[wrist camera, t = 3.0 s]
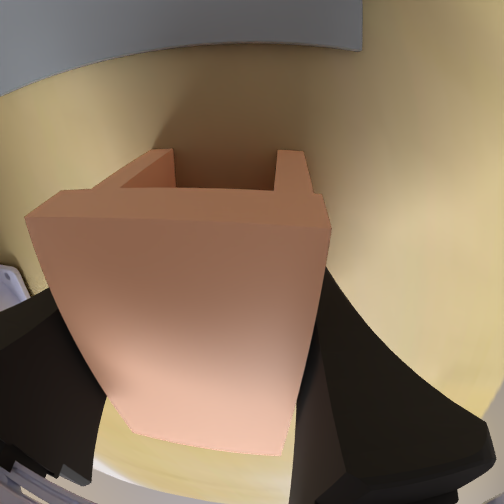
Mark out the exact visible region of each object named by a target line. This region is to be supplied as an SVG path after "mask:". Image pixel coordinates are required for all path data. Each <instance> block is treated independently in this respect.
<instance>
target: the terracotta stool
mask: <svg viewBox="0 0 504 504" xmlns="http://www.w3.org/2000/svg"><path fill="white" fill-rule="evenodd" d="M24 218H25V221H26V225H27V228H28V231H29V234H30V237H31V240H32V243H33V246H34V249H35V252H36V255H37V257H38V260H39V263H40V266H41V268H42V271H43V273H44V276H45V278H46V281H47V283H48V286H49V288H50V290H51V293H52V295H53V297H54V300H55V302H56V304H57V306H58V308H59V311H60V313H61V315H62V317H63V319H64V321H65V323H66V325H67V327H68V329H69V331H70V333H71V335H72V337H73V339H74V341H75V343H76V345H77V346H78V348H79V350H80V352H81V354H82V355H83V357H84V359H85V361H86V363H87V364H88V366H89V368H90V369H91V371H92V373H93V374H94V376H95V378H96V379H97V381H98V383H99V384H100V386H101V387H102V389H103V390H104V392H105V394H106V395H107V397H108V398H109V400H110V401H111V403H112V404H113V406H114V407H115V409H116V410H117V411H118V413H119V414H120V416H121V417H122V418H123V420H124V421H125V423H126V424H127V425H128V427H129V428H130V429H131V431H132V432H133V433H136V434H140V435H143V436H147V437H151V438H156V439H160V440H164V441H169V442H173V443H178V444H183V445H189V446H194V447H200V448H206V449H213V450H220V451H227V452H236V453H245V454H257V455H271V456H281V454H282V450H283V447H284V444H285V440H286V437H287V433H288V430H289V426H290V423H291V419H292V416H293V412H294V408H295V404H296V401H297V397H298V393H299V389H300V385H301V381H302V377H303V373H304V369H305V365H306V360H307V356H308V352H309V347H310V343H311V338H312V334H313V329H314V324H315V319H316V315H317V310H318V305H319V299H320V294H321V289H322V284H323V278H324V273H325V267H326V261H327V255H328V249H329V243H330V236H331V230H332V228H331V224H330V220H329V217H328V213H327V210H326V206H325V203H324V199H323V196H322V194H315V193H314V191H313V187H312V183H311V179H310V175H309V171H308V167H307V163H306V159H305V155H304V151H294V150H278V153H277V163H276V173H275V183H274V191H269V190H248V189H220V188H176V179H175V167H174V153H173V149H151V150H149V151H148V152H146V153H145V154H143V155H141V156H140V157H138V158H137V159H135V160H133V161H132V162H130V163H129V164H127V165H126V166H124V167H123V168H121V169H119V170H118V171H116V172H115V173H113V174H112V175H110V176H109V177H108V178H106V179H105V180H103V181H102V182H100V183H99V184H97V185H96V186H95V187H93V188H92V189H80V190H61V191H60V192H58V193H57V194H55V195H54V196H52V197H51V198H50V199H48V200H47V201H45V202H44V203H43V204H41V205H40V206H38V207H37V208H36V209H34V210H33V211H32V212H30V213H29V214H28V215H26V216H25V217H24Z"/></svg>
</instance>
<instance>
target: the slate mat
mask: <svg viewBox="0 0 504 504" xmlns="http://www.w3.org/2000/svg"><path fill="white" fill-rule="evenodd" d="M362 24H363V14H362V0H0V96H3V95H5V94H8V93H10V92H12V91H15V90H17V89H19V88H22V87H24V86H27V85H29V84H32V83H34V82H37V81H40V80H42V79H45V78H48V77H51V76H54V75H57V74H60V73H63V72H66V71H69V70H72V69H76V68H79V67H83V66H86V65H90V64H94V63H98V62H102V61H106V60H110V59H114V58H119V57H124V56H129V55H134V54H139V53H145V52H151V51H157V50H164V49H172V48H180V47H189V46H200V45H214V44H238V43H269V44H293V45H307V46H318V47H327V48H335V49H343V50H350V51H356V52H359V51H362Z"/></svg>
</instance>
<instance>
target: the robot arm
mask: <svg viewBox="0 0 504 504" xmlns="http://www.w3.org/2000/svg"><path fill="white" fill-rule="evenodd" d="M106 397H107V395H106V394H105V392H104V390H103V389H102V387H101V386H100V384H99V383H98V381H97V379H96V378H95V376H94V374H93V373H92V371H91V369H90V368H89V366H88V364H87V363H86V361H85V359H84V357H83V355H82V354H81V352H80V350H79V348H78V346H77V345H76V343H75V341H74V339H73V337H72V335H71V333H70V331H69V329H68V327H67V325H66V323H65V321H64V319H63V317H62V315H61V313H60V311H59V308H58V306H57V304H56V302H55V300H54V297H53V295H52V293H51V290H50V288H47V289H45V290H44V291H42V292H40V293H38V294H36V295H35V296H33V297H30V295H29V293H28V290H27V288H26V286H25V284H24V282H23V279H22V277H21V275H20V273H19V271H18V270H17V269H16V268H15V267H11V266H5V265H0V504H42V503H40V502H38V501H36V500H34V499H32V498H30V497H28V496H27V495H25V494H23V493H22V492H21V488H20V486H22V487H23V488H25V489H26V490H28V491H29V492H31V493H33V494H34V495H36V496H38V497H39V498H41V499H42V500H44V501H46V502H48V503H49V504H96V503H94V502H92V501H89V500H87V499H85V498H82V497H80V496H78V495H76V494H74V493H72V492H70V491H68V490H66V489H64V488H62V487H60V486H57V485H56V484H54V483H52V482H50V481H48V480H47V479H45V477H46V474H48V475H50V476H52V477H54V478H56V479H57V478H58V477H59V476H61V477H64V478H65V479H68V480H70V481H72V482H74V483H76V484H78V485H80V486H86V485H88V484H90V483H91V481H92V479H91V478H92V467H93V458H94V450H95V444H96V439H97V433H98V428H99V424H100V420H101V416H102V412H103V408H104V404H105V401H106ZM296 408H297V409H296V428H295V444H294V457H293V469H292V479H291V489H290V497H289V504H455V503H457V502H458V500H459V499H458V492H457V489H459V488H461V487H462V486H464V485H466V484H468V483H469V482H471V481H473V480H475V479H476V478H478V477H479V476H481V475H482V474H484V473H485V472H487V471H488V470H489V469H490V468H492V467H493V465H494V463H495V461H496V455H495V451H494V447H493V443H492V440H491V436H490V433H489V429H488V426H487V424H486V422H485V421H483V420H482V419H480V418H478V417H477V416H475V415H473V414H472V413H470V412H469V411H467V410H465V409H464V408H462V407H461V406H459V405H458V404H456V403H454V402H453V401H451V400H450V399H449V398H447V397H446V396H445V395H443V394H442V393H441V392H439V391H438V390H437V389H435V388H434V387H432V386H431V385H430V384H429V383H427V382H426V381H425V380H424V379H422V378H421V377H420V376H419V375H418V374H416V373H415V372H414V371H413V370H412V369H411V368H410V367H409V366H407V365H406V364H405V363H404V362H403V361H402V360H401V359H400V358H399V357H398V356H396V355H395V354H394V353H393V352H392V351H391V350H390V349H389V348H388V347H387V346H386V345H385V343H384V342H383V341H382V340H381V339H380V338H379V337H378V336H377V335H376V334H375V333H374V332H373V331H372V329H371V328H370V327H369V326H368V325H367V324H366V322H365V321H364V320H363V319H362V317H361V316H360V315H359V314H358V312H357V311H356V310H355V308H354V307H353V306H352V304H351V303H350V302H349V300H348V299H347V297H346V296H345V295H344V293H343V292H342V290H341V289H340V287H339V286H338V285H337V283H336V282H335V280H334V278H333V277H332V275H331V274H330V272H329V271H328V269H327V267H325V273H324V278H323V284H322V289H321V294H320V299H319V305H318V310H317V315H316V319H315V324H314V329H313V334H312V338H311V343H310V347H309V352H308V356H307V360H306V365H305V369H304V373H303V377H302V381H301V385H300V389H299V393H298V397H297V401H296ZM483 504H504V492H503V493H502V494H499V495H497V496H495V497H493V498H491V499H489V500H487V501H485V502H484V503H483Z"/></svg>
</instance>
